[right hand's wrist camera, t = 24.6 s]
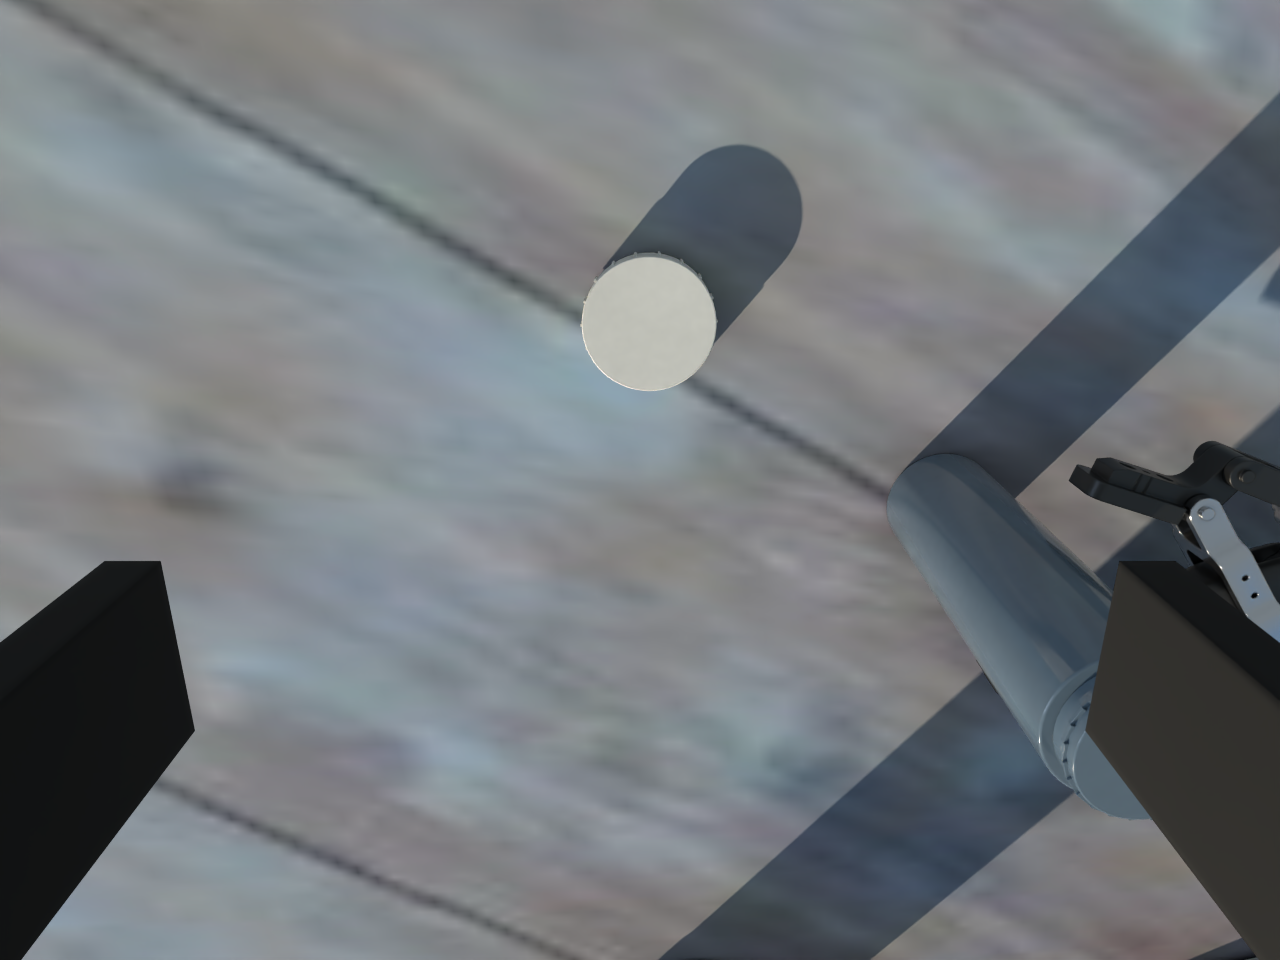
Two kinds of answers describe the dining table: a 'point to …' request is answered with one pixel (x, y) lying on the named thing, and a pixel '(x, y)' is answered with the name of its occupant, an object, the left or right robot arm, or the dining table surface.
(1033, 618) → the jar
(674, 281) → the lid
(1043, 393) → the dining table surface
